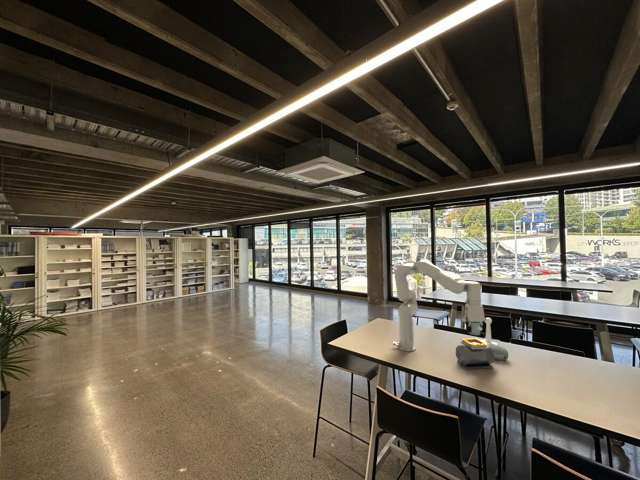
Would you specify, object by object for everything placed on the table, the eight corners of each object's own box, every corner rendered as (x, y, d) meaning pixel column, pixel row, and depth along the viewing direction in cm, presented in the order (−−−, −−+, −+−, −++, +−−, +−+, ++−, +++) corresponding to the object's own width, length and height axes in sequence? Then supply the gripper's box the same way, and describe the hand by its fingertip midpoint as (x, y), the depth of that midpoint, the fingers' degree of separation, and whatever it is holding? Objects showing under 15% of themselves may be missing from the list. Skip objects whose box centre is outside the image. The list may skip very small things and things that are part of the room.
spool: (511, 353, 169) (505, 341, 168) (510, 365, 163) (504, 352, 161) (487, 352, 179) (481, 341, 177) (485, 363, 172) (479, 351, 170)
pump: (476, 336, 154) (475, 324, 155) (466, 332, 163) (466, 320, 163) (485, 336, 155) (485, 324, 155) (475, 331, 164) (475, 320, 164)
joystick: (498, 346, 190) (497, 318, 191) (495, 349, 185) (495, 320, 185) (481, 342, 198) (480, 315, 199) (477, 344, 193) (477, 317, 193)
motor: (467, 370, 154) (466, 345, 154) (455, 361, 165) (455, 338, 165) (497, 368, 155) (497, 344, 156) (484, 360, 166) (484, 337, 167)
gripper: (464, 303, 156) (464, 334, 156) (491, 303, 158) (492, 333, 157) (456, 301, 164) (457, 330, 163) (482, 300, 165) (483, 329, 165)
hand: (474, 331), depth 160 cm, fingers closed on pump, 6 cm apart
